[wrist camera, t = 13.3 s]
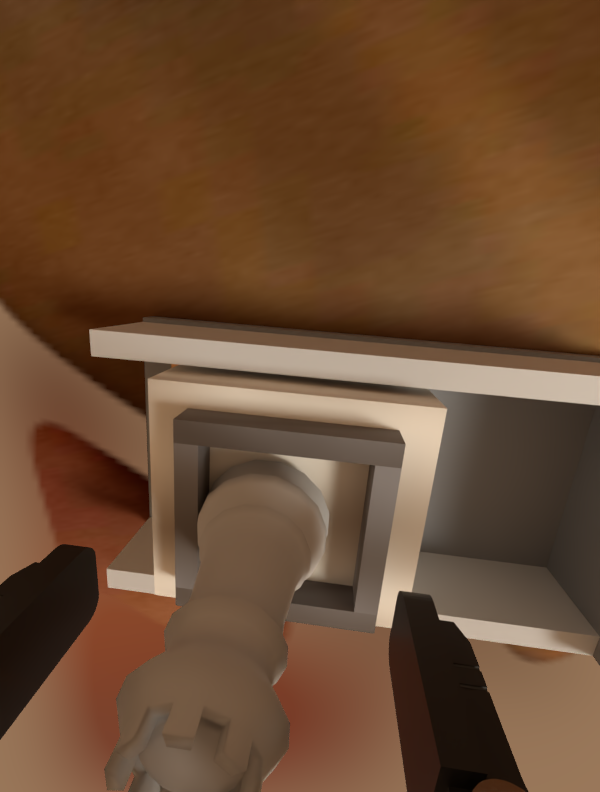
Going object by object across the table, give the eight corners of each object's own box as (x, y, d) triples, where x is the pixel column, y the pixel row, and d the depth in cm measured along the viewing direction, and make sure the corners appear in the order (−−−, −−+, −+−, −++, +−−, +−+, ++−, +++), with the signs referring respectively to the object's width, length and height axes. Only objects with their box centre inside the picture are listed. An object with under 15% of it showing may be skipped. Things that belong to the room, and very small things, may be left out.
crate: (199, 355, 17) (128, 387, 12) (415, 376, 17) (459, 420, 11) (198, 522, 20) (139, 619, 14) (387, 546, 19) (410, 659, 13)
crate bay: (152, 316, 19) (48, 328, 12) (617, 357, 17) (802, 398, 10) (158, 525, 22) (79, 628, 15) (549, 575, 20) (656, 715, 14)
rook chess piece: (199, 543, 14) (39, 836, 7) (220, 438, 13) (54, 647, 5) (312, 575, 14) (283, 911, 6) (345, 473, 13) (358, 735, 5)
